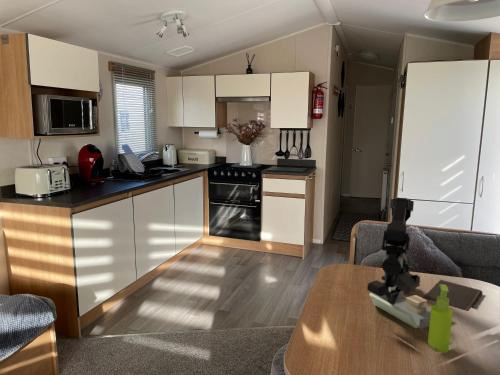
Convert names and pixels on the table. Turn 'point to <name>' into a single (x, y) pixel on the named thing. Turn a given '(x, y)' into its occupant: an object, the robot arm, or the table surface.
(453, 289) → the hardcover book
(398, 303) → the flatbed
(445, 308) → the soap dispenser
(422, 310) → the beech block
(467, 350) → the table surface
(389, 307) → the panel
